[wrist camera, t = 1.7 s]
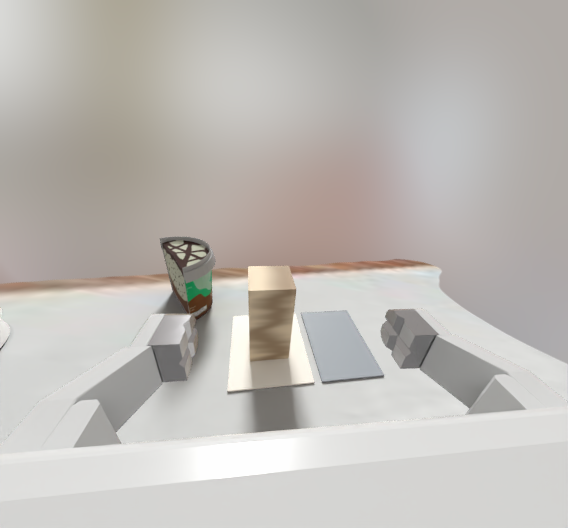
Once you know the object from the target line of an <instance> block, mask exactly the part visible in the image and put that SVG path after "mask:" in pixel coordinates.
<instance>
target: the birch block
mask: <svg viewBox="0 0 568 528" xmlns="http://www.w3.org/2000/svg"><path fill="white" fill-rule="evenodd" d="M248 294H249V345H250V361H262V360H274V359H286V358H289V351H290V342H291V333H292V324H293V315H294V305H295V296H296V287H295V284H294V281H293V278H292V275H291V271H290V268H289V266H254V267H253V266H249V267H248Z"/></svg>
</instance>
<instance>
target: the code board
mask: <svg viewBox="0 0 568 528" xmlns="http://www.w3.org/2000/svg"><path fill="white" fill-rule="evenodd" d="M301 315H302V318H303V322H304V325H305V328H306V331H307V335H308V338H309V341H310V344H311V348H312V351H313V354H314V357H315V361H316V364H317V367H318V370H319V374H320V377H321V380H322V382H330V381H339V380H349V379H359V378H368V377H378V376H384V374H383V372H382V370H381V369H380V367H379V365H378V364H377V362H376V360H375V358H374V357H373V355H372V353H371V352H370V350H369V348H368V346H367V345H366V343H365V341H364V339H363V338H362V336H361V334H360V333H359V331H358V329H357V327H356V326H355V324H354V322H353V320H352V319H351V317H350V315H349V314H348V312H347V310H344V311H325V312H305V313H301ZM310 383H314V379H313V376H312V372H311V368H310V365H309V361H308V357H307V354H306V350H305V347H304V343H303V339H302V336H301V332H300V328H299V325H298V321H297V318H296V314H295V313H294V315H293V324H292V333H291V342H290V351H289V358H286V359H274V360H262V361H250V345H249V315H247V316H233V326H232V339H231V352H230V364H229V377H228V390H227V392H233V391H243V390H253V389H262V388H272V387H281V386H291V385H301V384H310Z"/></svg>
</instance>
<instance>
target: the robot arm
mask: <svg viewBox="0 0 568 528" xmlns="http://www.w3.org/2000/svg"><path fill="white" fill-rule="evenodd" d="M2 312H3V310H2V308H1V307H0V348H1V347H2V345H3V344H4V343H5V342H6V340H7V338H8V336H9V334H10V327H9V325H8V324H7V323H6V322H5V321H4V320H2V319H1V316H2ZM385 318H386V320H387V321H386V322H385V323H384V324H383V325H382V328H381V338H382V341H383V343H384V344H385V346H386V347H387V348H389V349H390V350H392V354H391V355H392V357H393V358H394V360H395V361H396V363H397V364H398V366H399V367H400V369H407V368H420V370H421V371H423V372H424V373H425V374H426V375H428V376H429V377H430V378H432V379H433V380H434V381H435V382H437V383H438V384H439V385H440V386H442V387H443V388H444V389H446V390H447V391H448V392H449V393H451V394H452V395H453V396H454V397H456V398H457V399H458V400H459V401H461V402H462V403H463V404H465V405H466V406H467V407H468V408H470V409H469V410H468V412H467V413H466V414H465V415H456V416H445V417H433V418H421V419H409V420H397V421H386V422H374V423H362V424H350V425H338V426H326V427H314V428H302V429H290V430H278V431H266V432H255V433H243V434H231V435H219V436H207V437H195V438H183V439H172V440H160V441H148V442H136V443H124V444H121V442H120V440H119V438H118V436H117V434H116V432H117V431H118V430H119V429H120V428H121V427H122V426H123V424H124V423H125V422H126V421H127V420H128V419H129V418H130V417H131V416H132V415H133V414H134V413H135V412H136V411H137V410H138V409H139V408H140V407H141V406H142V405H143V404H144V403H145V401H146V400H147V399H148V398H149V397H150V396H151V395H152V394H153V393H154V392H155V391H156V390H157V389H158V388H159V387H160V386H161V385H162V382H173V381H185V380H187V379H188V376H189V373H190V370H191V367H192V360H191V358H192V357H193V356H194V355H195V354H196V350H197V345H198V331H197V329H195V328H194V326H195V323H196V319H195V315H194V314H152V315H150V316H149V318H148V319H147V321H146V322H145V324H144V325H143V327H142V328H141V330H140V331H139V333H138V334H137V336H136V337H135V339H134V340H133V342H132V344H131V345H130V347H124V348H122V349H121V350H119V351H117V352H116V353H114V354H113V355H111V356H110V357H108V358H106V359H105V360H103V361H102V362H100V363H99V364H97V365H95V366H94V367H92V368H91V369H89V370H87V371H86V372H84V373H83V374H81V375H80V376H78V377H76V378H75V379H73V380H72V381H70V382H69V383H67V384H65V385H64V386H62V387H61V388H59V389H57V390H56V391H54V392H53V393H51V394H50V395H48V396H46V397H45V398H43V399H42V400H40V401H39V402H38V403H37V404H36V405H35V406H34V407H33V408H32V410H31V411H30V412H29V413H28V414H27V415H26V416H25V418H24V419H23V420H22V421H21V422H20V423H19V424H18V425H17V427H16V428H15V429H14V430H13V431H12V432H11V433H10V435H9V436H8V437H7V438H6V439H5V440H4V441H3V443H2V444H1V445H0V528H568V401H567V400H565V399H564V398H563V397H562V396H560V395H559V394H558V393H557V392H555V391H554V390H553V389H552V388H551V387H549V386H548V385H547V384H546V383H544V382H543V381H542V380H541V379H540V378H538V377H537V376H536V375H535V374H533V373H532V372H531V371H529V370H527V369H525V368H522V367H520V366H518V365H516V364H514V363H512V362H510V361H508V360H506V359H504V358H502V357H500V356H498V355H496V354H494V353H492V352H490V351H488V350H486V349H484V348H482V347H480V346H478V345H476V344H474V343H471V342H469V341H467V340H465V339H463V338H461V337H459V336H457V335H452V334H451V333H450V332H449V331H448V330H447V329H446V328H444V327H443V326H442V325H441V324H440V323H439V322H438V321H437V320H436V319H435V318H434V317H433V316H432V315H431V314H430V313H429V312H428V311H427V310H425V309H423V308H417V309H394V310H388V311H387V313H386V316H385Z"/></svg>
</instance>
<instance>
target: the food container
mask: <svg viewBox="0 0 568 528" xmlns="http://www.w3.org/2000/svg"><path fill="white" fill-rule="evenodd" d="M160 243H161V248H162V250H163V254H164V258H165V261H166V266H167V270H168V274H169V278H170V282H171V286H172V290H173V293H174V294H175V296H176V298H177V300H178V301H179V303H180V305H181V306H182V308H183V310H184V311H185V313H186V314H194V315H195V319H196V320H197V319H199V318H200V317H201V316H203V315H204V314H206V313H207V311H208V310H209V309H210V308H211V305H212V270H211V269H212V268H213V267H214V265H215V262H216V261H215V257H214V254H213V251H212V249H211V248H210V246H209V245H208V244H207V243H206V242H205V241H203V240H200V239H196V238H191V237H166V238H160Z"/></svg>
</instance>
